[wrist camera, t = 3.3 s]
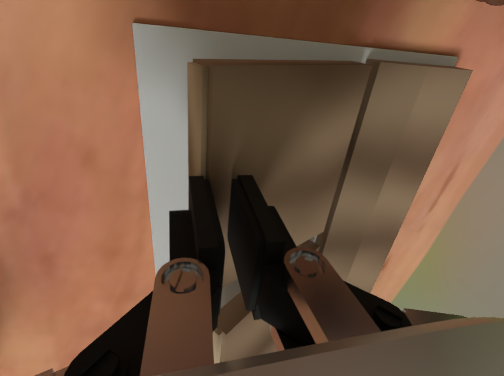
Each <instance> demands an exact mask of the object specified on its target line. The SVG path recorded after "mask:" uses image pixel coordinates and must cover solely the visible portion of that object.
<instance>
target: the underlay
mask: <svg viewBox="0 0 504 376" xmlns="http://www.w3.org/2000/svg"><path fill="white" fill-rule="evenodd" d="M132 26H133V37H134V47H135V58H136V69H137V80H138V90H139V101H140V112H141V122H142V133H143V144H144V155H145V165H146V176H147V187H148V198H149V208H150V219H151V230H152V241H153V251H154V262H155V273H156V274H157V272H158V270H159V269H160V268H161V267H162V266H163V265H164V264H166V263H167V262H169V261H170V253H169V211H174V210H188V188H189V186H188V80H187V62H193V59H255V60H335V61H355V62H360V63H365V62H366V59H377V60H387V61H398V62H409V63H419V64H430V65H441V66H452V67H454V66H455V64H456V62H457V59H458V57H454V56H445V55H435V54H426V53H416V52H407V51H397V50H388V49H378V48H369V47H359V46H350V45H340V44H331V43H321V42H312V41H302V40H293V39H283V38H274V37H264V36H255V35H245V34H236V33H226V32H217V31H207V30H198V29H188V28H179V27H169V26H160V25H150V24H141V23H132ZM316 237H317V235H316V236H315V237H313V238H311V239H309V240H311V241H313V242H314V243H315V241H316ZM240 292H241V289H240V285H239V281H238V279H237V280H235V281H233V282H232V283H230V284H228V285H226V286H224V287H222V296H221V308H222V307H223V306H224V305H226V304H227V303H228V302H229V301H230V300H231V299H233V298H234V297H235V296H236V295H237V294H239V293H240ZM221 308H220V309H221Z"/></svg>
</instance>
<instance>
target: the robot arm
mask: <svg viewBox="0 0 504 376" xmlns="http://www.w3.org/2000/svg"><path fill="white" fill-rule="evenodd" d="M227 237H228V243H229V247H230V251H231V255H232V258H233V262H234V266H235V270H236V274H237V277H238V281H239V285H240V289H241V293H242V297H243V300H244V304H245V308H246V310H247V311H252V315H253V318H254V320H259V319H262V320H263V321H265V322H267V323H268V324H269V329H270V333H271V336H272V338H273V341H274V343H275V346H276V348H277V350H278V351H277V352H272V353H267V354H261V355H256V356H251V357H246V358H241V359H236V360H231V361H226V362H220V363H215V364H214V353H213V332H214V330H215V329H216V328H217V324H218V315H220V308H221V296H222V285H223V274H224V263H225V241H224V237H223V233H222V229H221V225H220V221H219V217H218V213H217V209H216V205H215V201H214V197H213V193H212V189H211V184H210V180H209V179H204V176H189V188H188V210H174V211H169V253H170V261H169V262H167V263H166V264H164V265H163V266H162V267H161V268H160V269H159V270H158V272H157V274H156V277H155V282H154V289H153V291H152V292H151V293H150V294H149V295H148V296H146V297H145V298H144V299H143V300H142V301H140V302H139V303H138V304H137V305H136V306H135V307H133V308H132V309H131V310H130V311H129V312H128V313H126V314H125V315H124V316H123V317H122V318H120V319H119V320H118V321H117V322H116V323H115V324H113V325H112V326H111V327H110V328H109V329H108V330H106V331H105V332H104V333H103V334H102V335H100V336H99V337H98V338H97V339H96V340H95V341H93V342H92V343H91V344H90V345H89V346H88V347H86V348H85V349H84V350H83V351H82V352H80V353H79V355H78V356H77V357H76V358H75V359H74V360H73V361H72V362H71V363H70V365H69V366H68V367H66V368H63V369H61V370H58V371H56V372H54V371H53V368H52V369H49V370H47V371H45V372H42V373H40V374H37V375H35V376H504V318H495V317H471V318H467V317H464V316H460V315H453V314H445V313H437V312H429V311H421V310H414V309H404V310H403V311H401V310H400V309H399V308H398V307H396V306H394V305H393V304H391V303H389V302H387V301H385V300H383V299H381V298H379V297H377V296H375V295H373V294H370V293H368V292H366V291H364V290H362V289H360V288H358V287H356V286H354V285H352V284H350V283H347V282H345V281H343V280H342V278H341V277H340V276H339V274H338V273H337V272H336V270H335V269H334V268H333V266H332V265H331V264H330V262H329V261H328V260H327V259H326V258H325V257H324V256H323V255H322V254H321V253H319V252H318V251H315V250H313V249H310V248H305V247H297V246H296V245H295V243H294V241H293V239H292V237H291V235H290V234H289V232H288V230H287V228H286V226H285V224H284V223H283V221H282V219H281V217H280V215H279V213H278V212H277V210H276V208H275V207H274V206H268V205H267V203H266V201H265V199H264V197H263V195H262V193H261V191H260V189H259V187H258V185H257V183H256V181H255V179H254V177H253V176H252V175H238V176H237V179H233V180H232V187H231V198H230V209H229V220H228V232H227Z"/></svg>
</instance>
